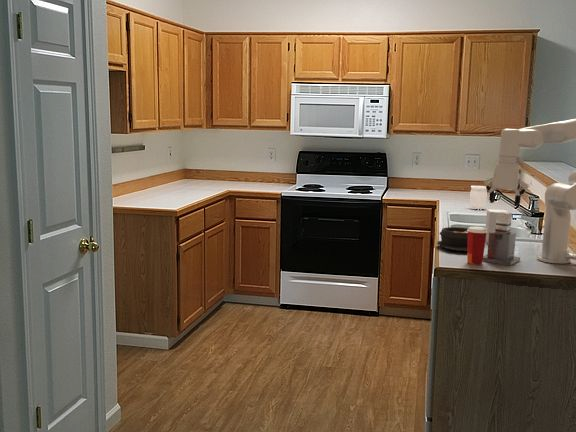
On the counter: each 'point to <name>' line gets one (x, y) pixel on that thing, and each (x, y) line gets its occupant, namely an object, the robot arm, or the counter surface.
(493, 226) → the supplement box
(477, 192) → the jar
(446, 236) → the casserole
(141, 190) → the counter surface
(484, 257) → the stand
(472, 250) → the paper cup
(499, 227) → the column
